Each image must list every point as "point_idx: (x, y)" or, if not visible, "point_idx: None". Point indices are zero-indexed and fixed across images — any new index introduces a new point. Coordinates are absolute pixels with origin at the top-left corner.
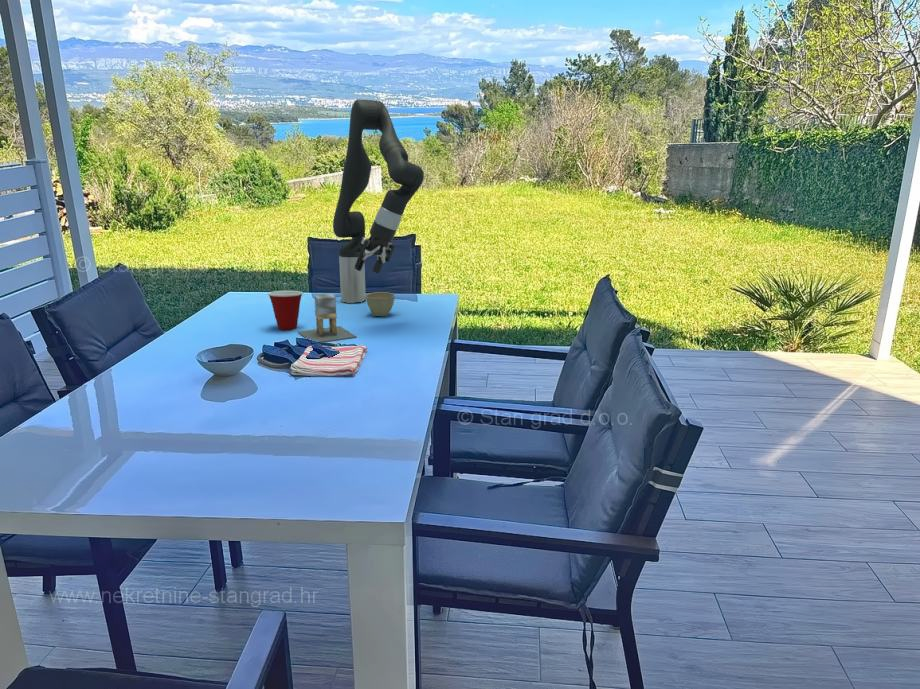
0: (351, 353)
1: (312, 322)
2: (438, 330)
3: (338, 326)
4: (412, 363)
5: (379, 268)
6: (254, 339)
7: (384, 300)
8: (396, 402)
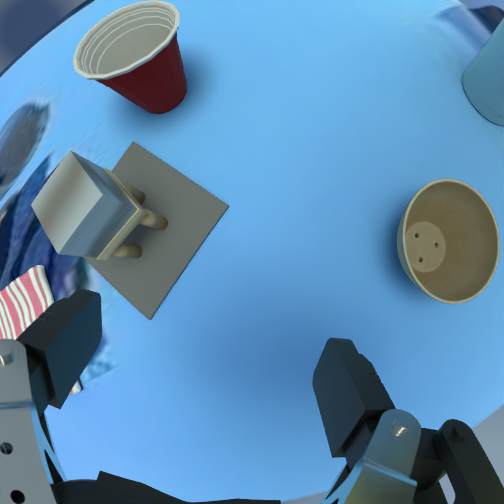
0: None
1: (243, 104)
2: (320, 481)
3: (220, 205)
4: (83, 477)
5: (325, 414)
6: (74, 110)
7: (419, 287)
8: None
